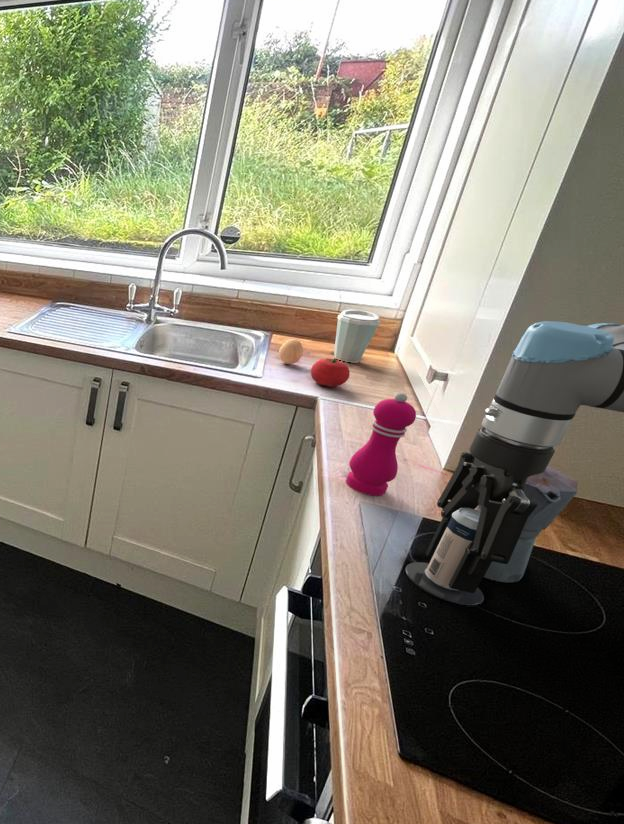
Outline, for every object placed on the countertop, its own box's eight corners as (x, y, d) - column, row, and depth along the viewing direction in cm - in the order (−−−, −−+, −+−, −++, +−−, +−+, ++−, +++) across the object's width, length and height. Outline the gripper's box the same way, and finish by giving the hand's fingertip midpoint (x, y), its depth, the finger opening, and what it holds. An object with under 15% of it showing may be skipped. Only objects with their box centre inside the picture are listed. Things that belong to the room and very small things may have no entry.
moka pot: (466, 585, 87) (525, 471, 80) (423, 527, 101) (470, 424, 93) (547, 603, 84) (617, 487, 77) (492, 541, 98) (547, 436, 90)
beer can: (461, 597, 84) (496, 530, 80) (420, 579, 88) (451, 514, 83) (467, 583, 87) (501, 517, 82) (427, 565, 91) (458, 501, 86)
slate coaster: (495, 596, 86) (496, 594, 85) (463, 614, 82) (464, 611, 82) (424, 558, 93) (425, 556, 93) (392, 573, 89) (393, 571, 89)
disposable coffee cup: (367, 368, 175) (384, 320, 169) (324, 360, 180) (340, 314, 174) (364, 358, 183) (381, 312, 177) (323, 351, 188) (338, 306, 183)
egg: (273, 363, 176) (280, 338, 173) (279, 358, 180) (286, 334, 177) (295, 368, 172) (303, 343, 169) (301, 364, 176) (309, 339, 173)
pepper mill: (342, 473, 117) (377, 382, 109) (387, 485, 113) (426, 392, 105) (342, 488, 111) (378, 393, 104) (389, 502, 108) (430, 405, 100)
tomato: (350, 387, 160) (360, 360, 157) (336, 393, 156) (346, 365, 152) (315, 376, 167) (324, 350, 164) (301, 382, 162) (309, 355, 159)
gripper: (447, 403, 87) (393, 528, 96) (524, 466, 70) (449, 611, 79) (510, 412, 85) (448, 539, 94) (605, 479, 68) (518, 627, 77)
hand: (448, 572), depth 87 cm, fingers open, 7 cm apart
